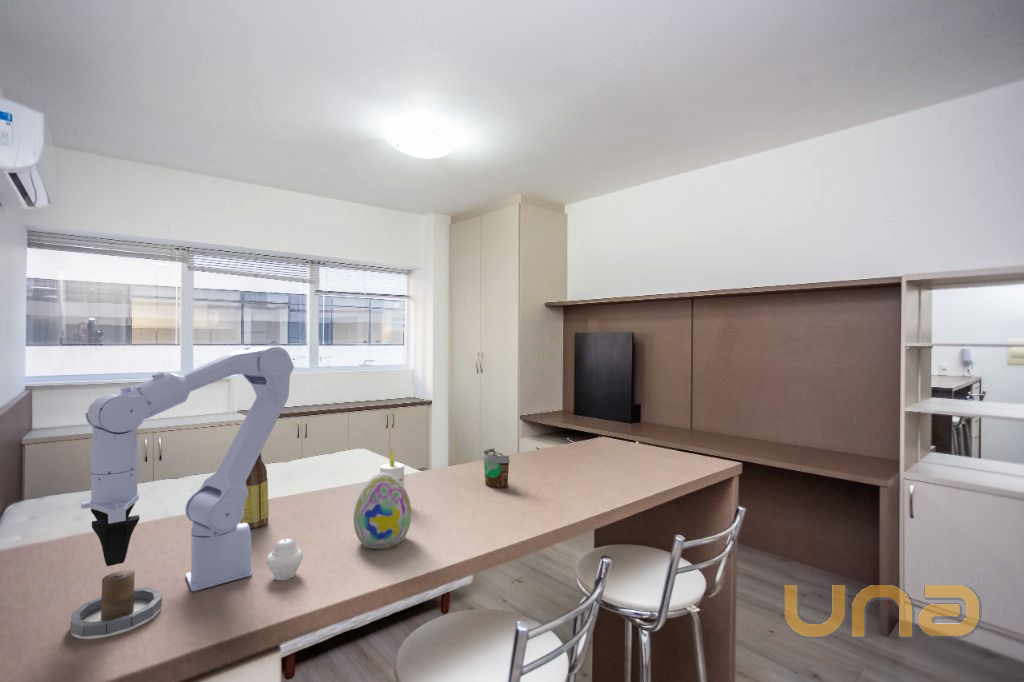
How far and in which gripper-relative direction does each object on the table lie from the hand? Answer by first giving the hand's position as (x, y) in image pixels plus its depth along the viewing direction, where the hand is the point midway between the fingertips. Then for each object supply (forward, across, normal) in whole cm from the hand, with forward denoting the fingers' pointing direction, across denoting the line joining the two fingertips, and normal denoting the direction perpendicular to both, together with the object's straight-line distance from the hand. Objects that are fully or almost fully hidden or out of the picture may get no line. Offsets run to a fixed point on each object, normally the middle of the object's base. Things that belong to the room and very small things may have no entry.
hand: (114, 555), depth 77 cm
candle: (+10, -19, +59) cm, 63 cm away
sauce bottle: (+10, -28, +27) cm, 40 cm away
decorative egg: (+10, +2, +46) cm, 47 cm away
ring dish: (+9, +2, 0) cm, 10 cm away
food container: (+10, -16, +91) cm, 93 cm away
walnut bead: (+9, +2, 0) cm, 9 cm away
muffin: (+10, +4, +24) cm, 27 cm away
